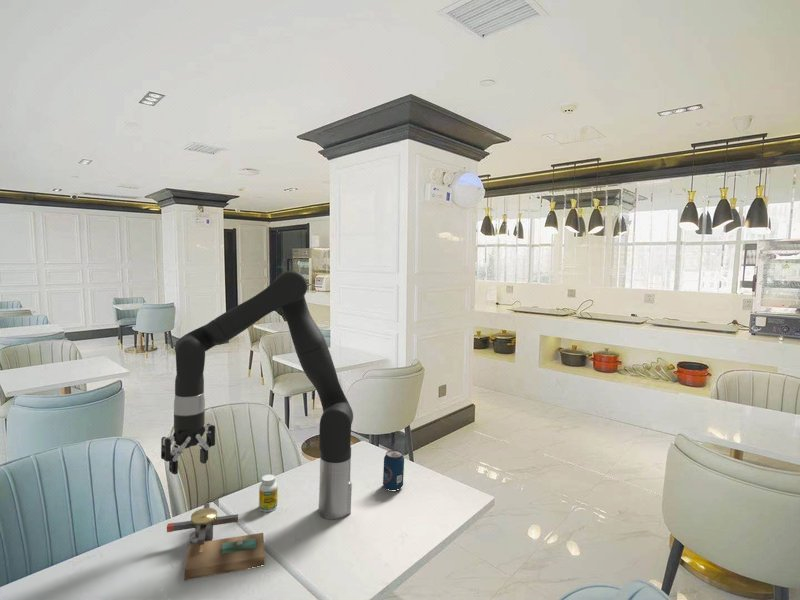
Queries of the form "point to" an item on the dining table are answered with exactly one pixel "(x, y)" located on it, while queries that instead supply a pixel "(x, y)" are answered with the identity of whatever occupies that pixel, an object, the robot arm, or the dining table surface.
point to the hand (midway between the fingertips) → (189, 467)
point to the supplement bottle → (268, 493)
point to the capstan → (202, 524)
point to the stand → (224, 556)
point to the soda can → (393, 470)
